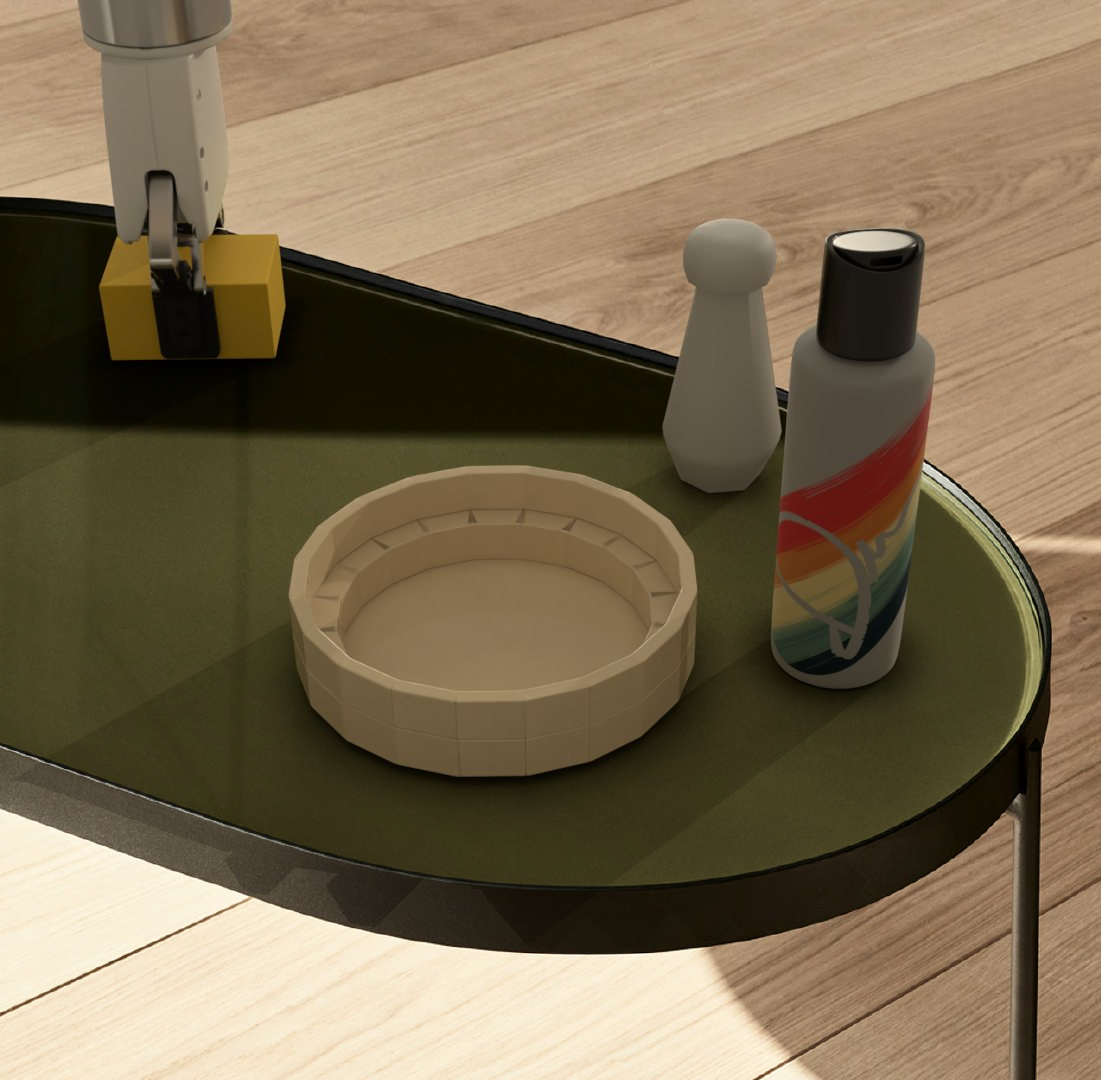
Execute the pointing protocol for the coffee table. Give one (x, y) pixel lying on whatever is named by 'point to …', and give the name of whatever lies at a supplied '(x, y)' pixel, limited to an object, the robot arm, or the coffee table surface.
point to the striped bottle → (853, 463)
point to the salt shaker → (725, 361)
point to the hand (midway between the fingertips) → (199, 323)
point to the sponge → (231, 269)
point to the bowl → (494, 620)
